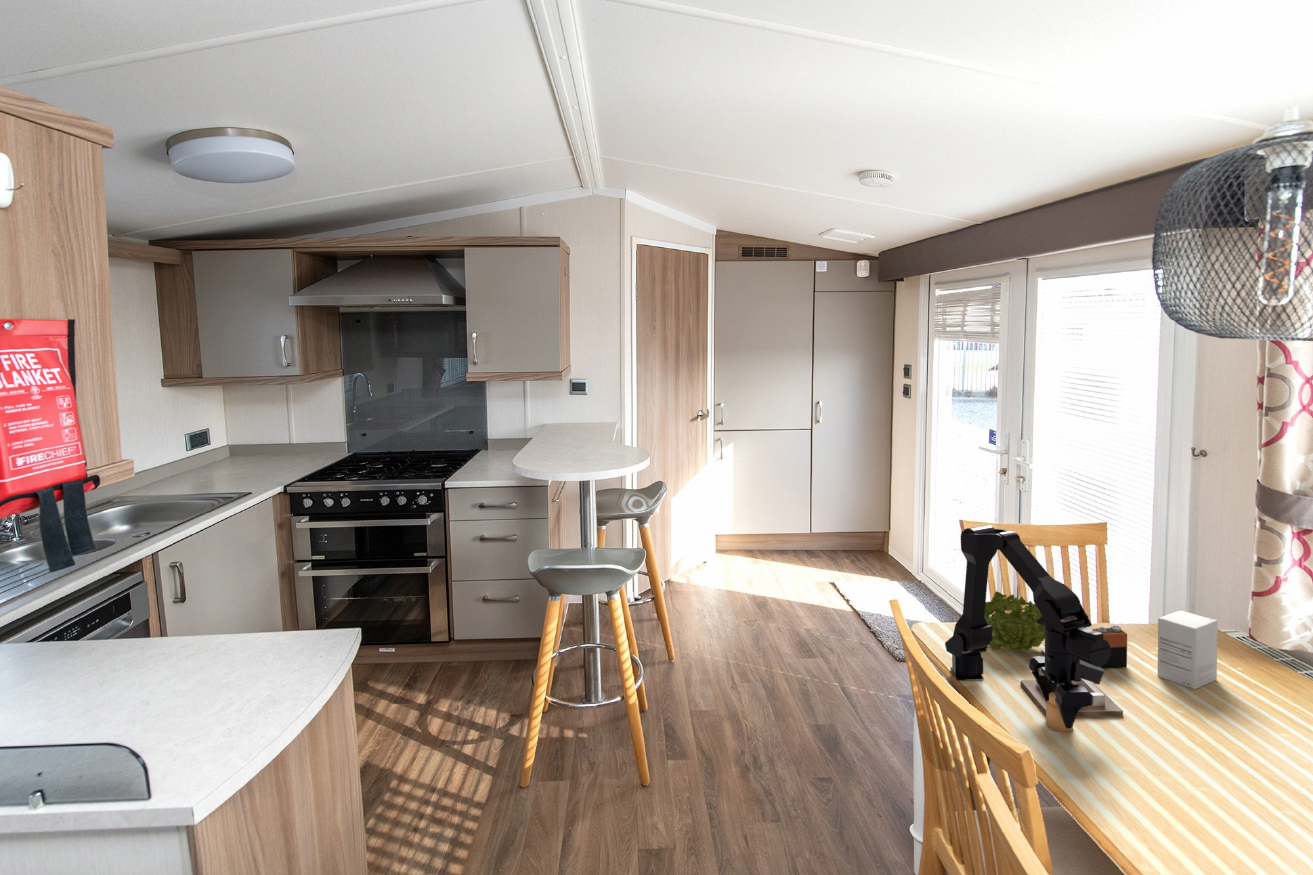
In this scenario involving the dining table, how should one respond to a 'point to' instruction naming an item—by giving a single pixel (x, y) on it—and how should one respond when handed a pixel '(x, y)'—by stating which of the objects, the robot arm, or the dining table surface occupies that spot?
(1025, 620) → the green leafy plant
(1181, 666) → the supplement box
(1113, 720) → the dining table surface
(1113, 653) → the battery
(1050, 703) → the tan rounded cylinder
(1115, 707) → the collar board
